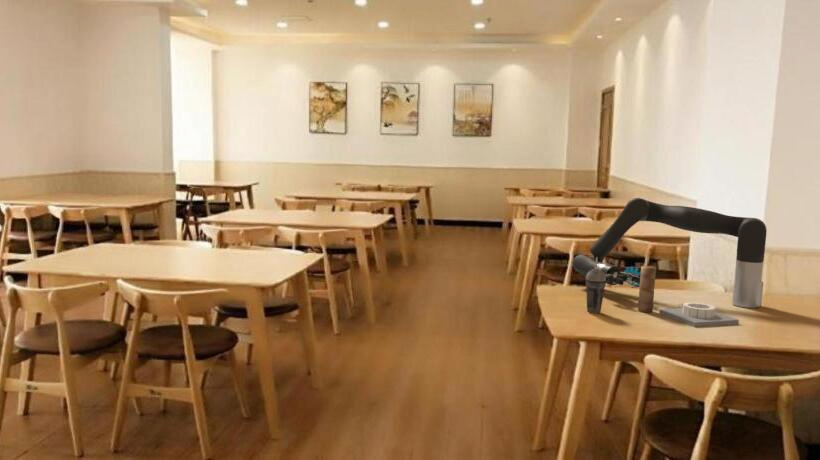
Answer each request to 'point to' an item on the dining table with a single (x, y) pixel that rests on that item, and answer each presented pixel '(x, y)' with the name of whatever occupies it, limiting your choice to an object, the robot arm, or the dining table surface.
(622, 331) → the dining table surface
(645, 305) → the cylinder
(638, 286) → the blue spiky lump
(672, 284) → the dining table surface
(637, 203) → the robot arm
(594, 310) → the beverage cup
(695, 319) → the socket plate
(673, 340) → the dining table surface
